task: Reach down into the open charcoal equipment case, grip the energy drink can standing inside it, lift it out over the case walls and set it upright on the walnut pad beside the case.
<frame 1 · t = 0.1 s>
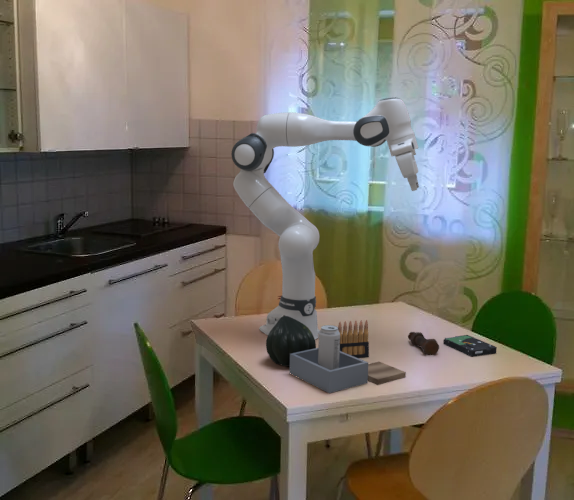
hand: (415, 189, 215), 52 cm above the table, tool tilted 20°, fingers open, 8 cm apart
ammunition clip: (351, 358, 212), on the table
energy drink can: (327, 378, 193), resting in equipment case
disk drive: (469, 350, 224), on the table
equipment case: (327, 378, 193), on the table
walnut pad: (378, 375, 197), on the table
bolt: (421, 349, 223), on the table
squash: (289, 363, 206), on the table
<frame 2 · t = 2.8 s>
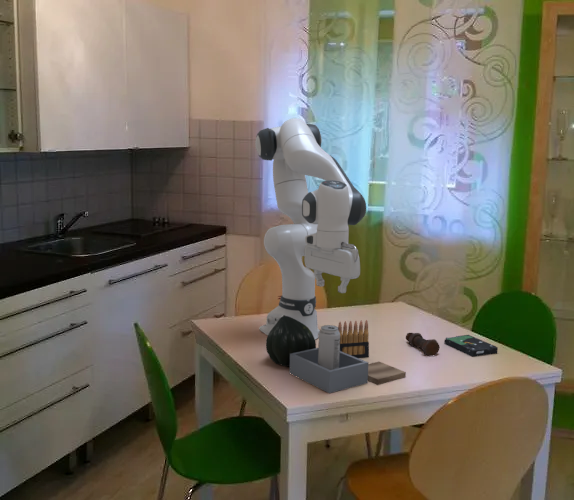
hand: (330, 289, 189), 26 cm above the table, tool pointing down, fingers open, 8 cm apart
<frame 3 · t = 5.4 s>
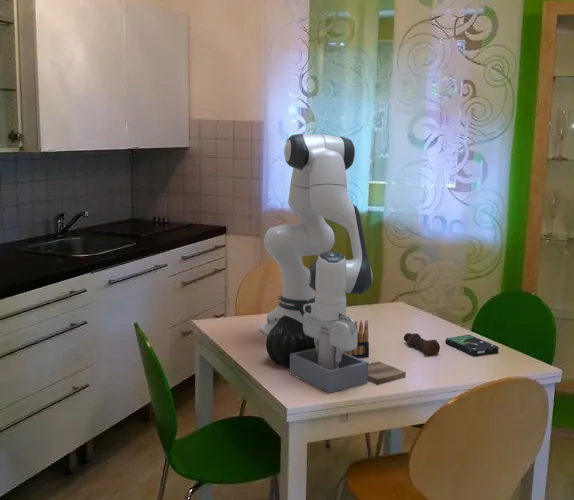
hand: (328, 357, 192), 6 cm above the table, tool pointing down, fingers closed on energy drink can, 6 cm apart
energy drink can: (327, 378, 193), resting in equipment case, touching gripper
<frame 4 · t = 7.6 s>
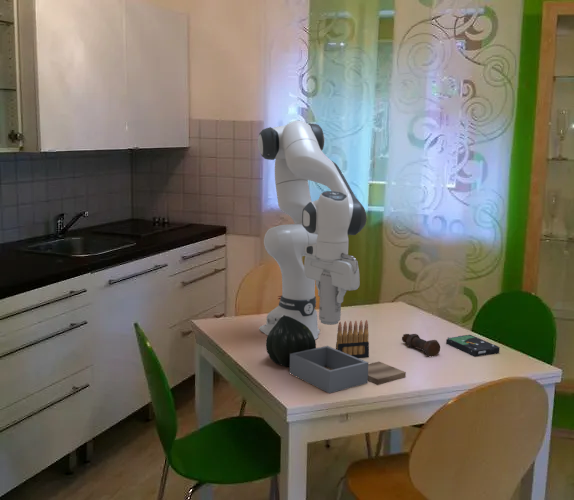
hand: (330, 299, 190), 23 cm above the table, tool pointing down, fingers closed on energy drink can, 6 cm apart
energy drink can: (329, 322, 191), point 16 cm above the table, touching gripper
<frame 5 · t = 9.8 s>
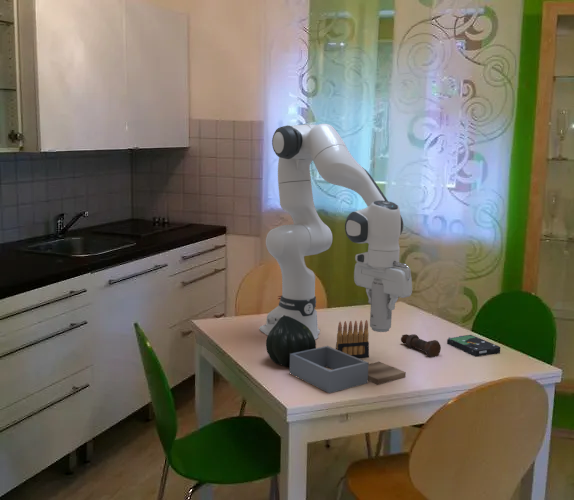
hand: (381, 306, 193), 20 cm above the table, tool pointing down, fingers closed on energy drink can, 6 cm apart
energy drink can: (380, 330, 194), point 13 cm above the table, touching gripper
when the fingers open (9 cm above the table, at t = 12.6 s): energy drink can stays where it is, resting on walnut pad.
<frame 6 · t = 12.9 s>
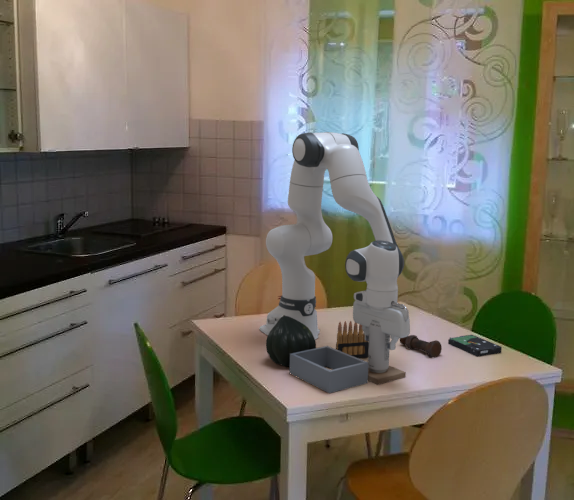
hand: (379, 345, 195), 9 cm above the table, tool pointing down, fingers open, 8 cm apart
energy drink can: (378, 370, 197), point 1 cm above the table, touching walnut pad
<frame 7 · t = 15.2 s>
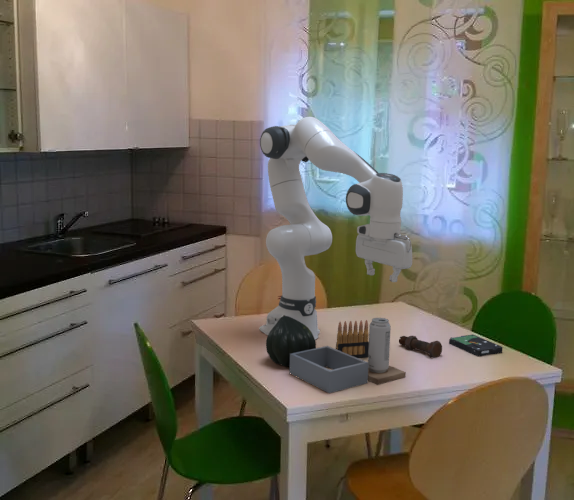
hand: (381, 278, 196), 28 cm above the table, tool pointing down, fingers open, 8 cm apart
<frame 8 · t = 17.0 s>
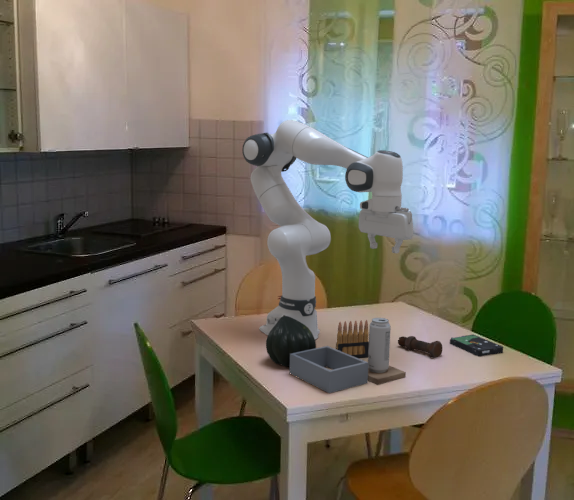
hand: (384, 250, 206), 34 cm above the table, tool pointing down, fingers open, 8 cm apart
at the end: energy drink can inside the target area on the walnut pad (0.2 cm from its centre), point 1.3 cm above the walnut pad's base; energy drink can tilted 0°; the gripper is holding nothing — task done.
